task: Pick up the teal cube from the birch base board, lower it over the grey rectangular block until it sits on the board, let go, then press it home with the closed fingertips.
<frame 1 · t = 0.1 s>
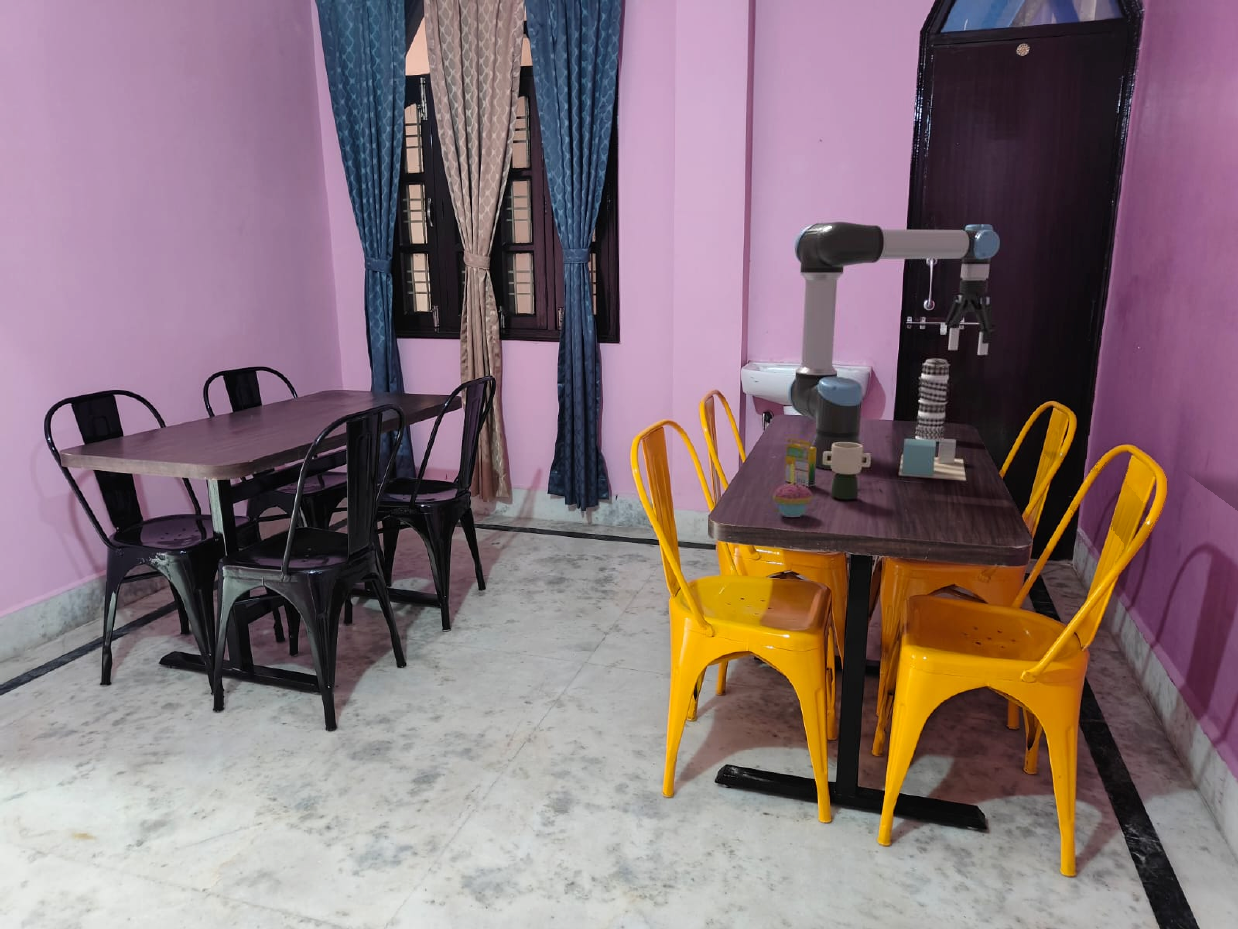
hand: (967, 352, 252), 28 cm above the table, tool pointing down, fingers open, 13 cm apart
grey rectangular block: (945, 462, 229), resting on base board
decorative candle: (929, 439, 266), on the table
crayon box: (799, 484, 214), on the table
character mug: (844, 499, 201), on the table
base board: (931, 472, 225), on the table
cupcake: (792, 516, 188), on the table
teal cube: (917, 471, 219), point 1 cm above the table, touching base board
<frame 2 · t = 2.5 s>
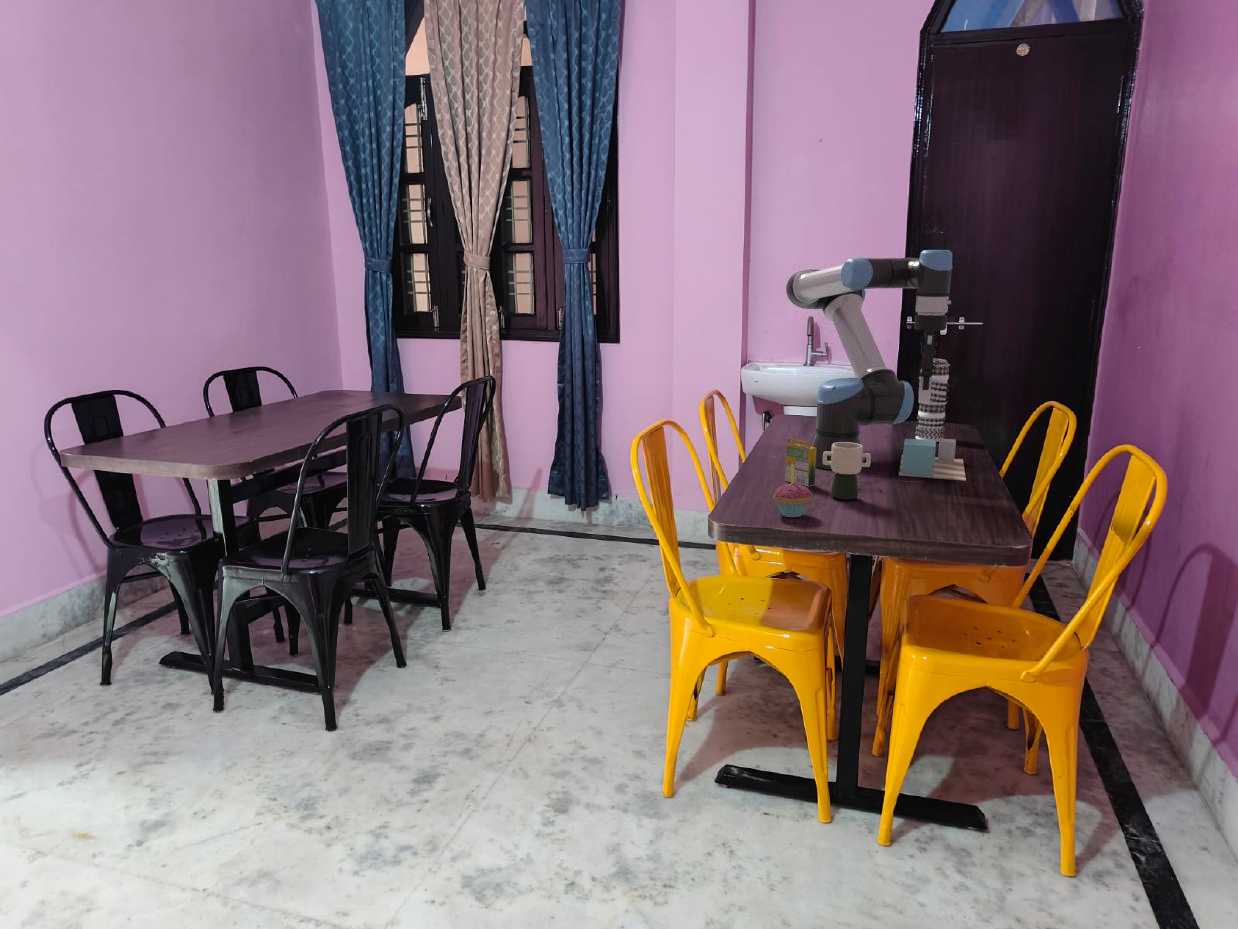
hand: (924, 398, 215), 21 cm above the table, tool pointing down, fingers open, 13 cm apart
nothing on the table moved.
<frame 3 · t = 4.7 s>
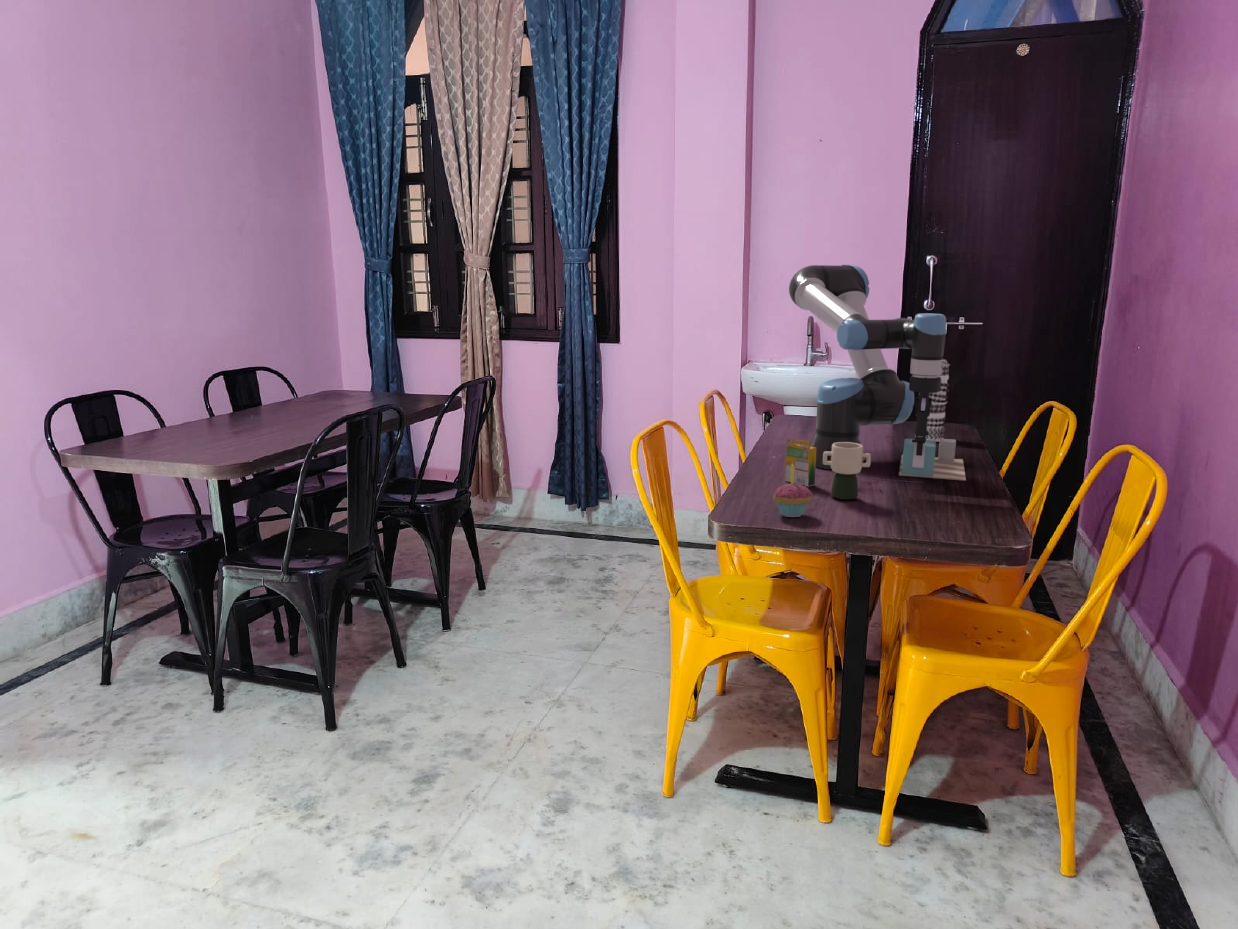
hand: (918, 463, 218), 4 cm above the table, tool pointing down, fingers closed on teal cube, 8 cm apart
teal cube: (917, 471, 219), point 2 cm above the table, touching base board, gripper
everything else where it was.
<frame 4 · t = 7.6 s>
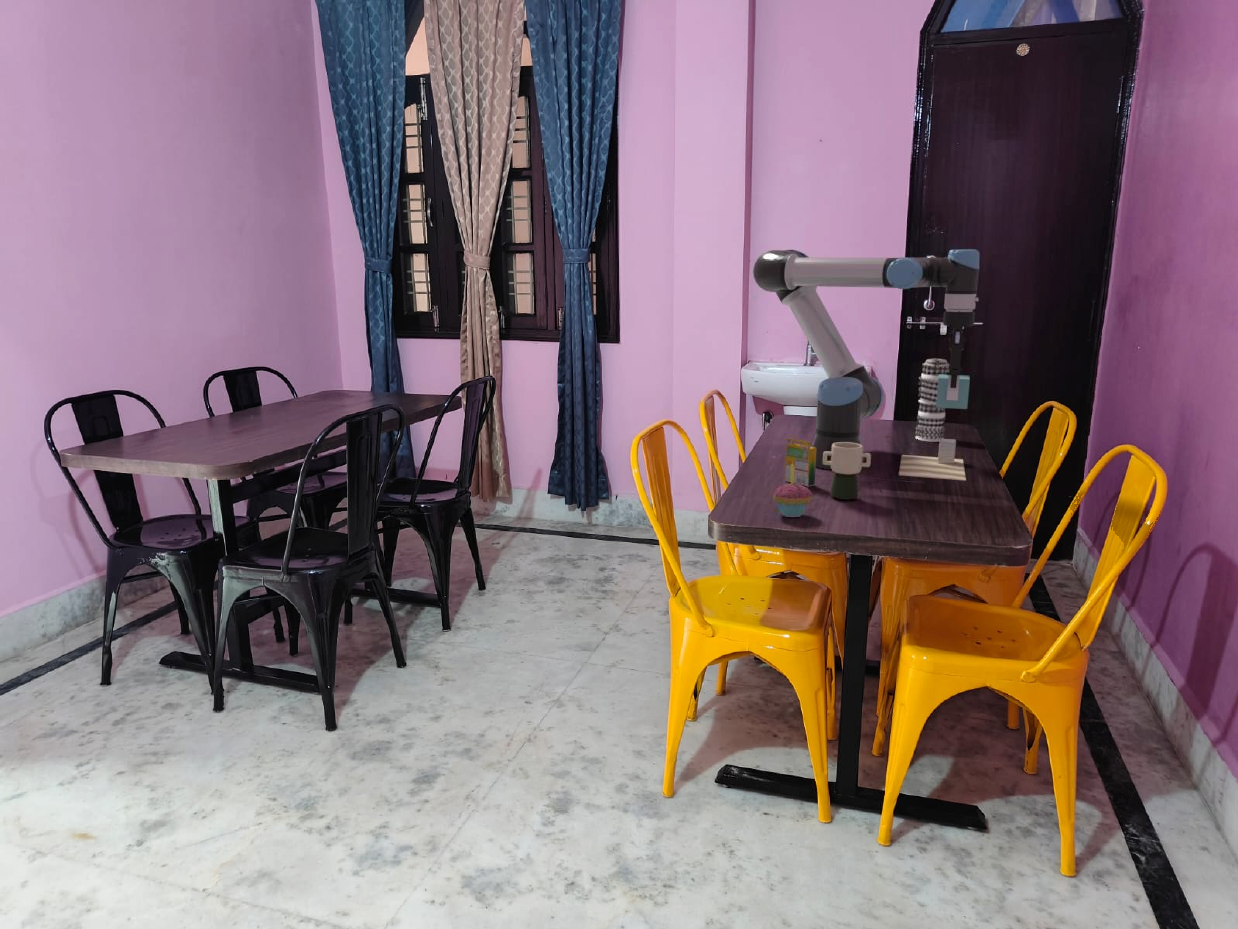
hand: (952, 397, 225), 19 cm above the table, tool pointing down, fingers closed on teal cube, 8 cm apart
teal cube: (951, 405, 225), point 17 cm above the table, touching gripper
everything else where it was.
when the fingers open (5 cm above the table, at t = 10.7 s): teal cube drops 2 cm, resting on base board.
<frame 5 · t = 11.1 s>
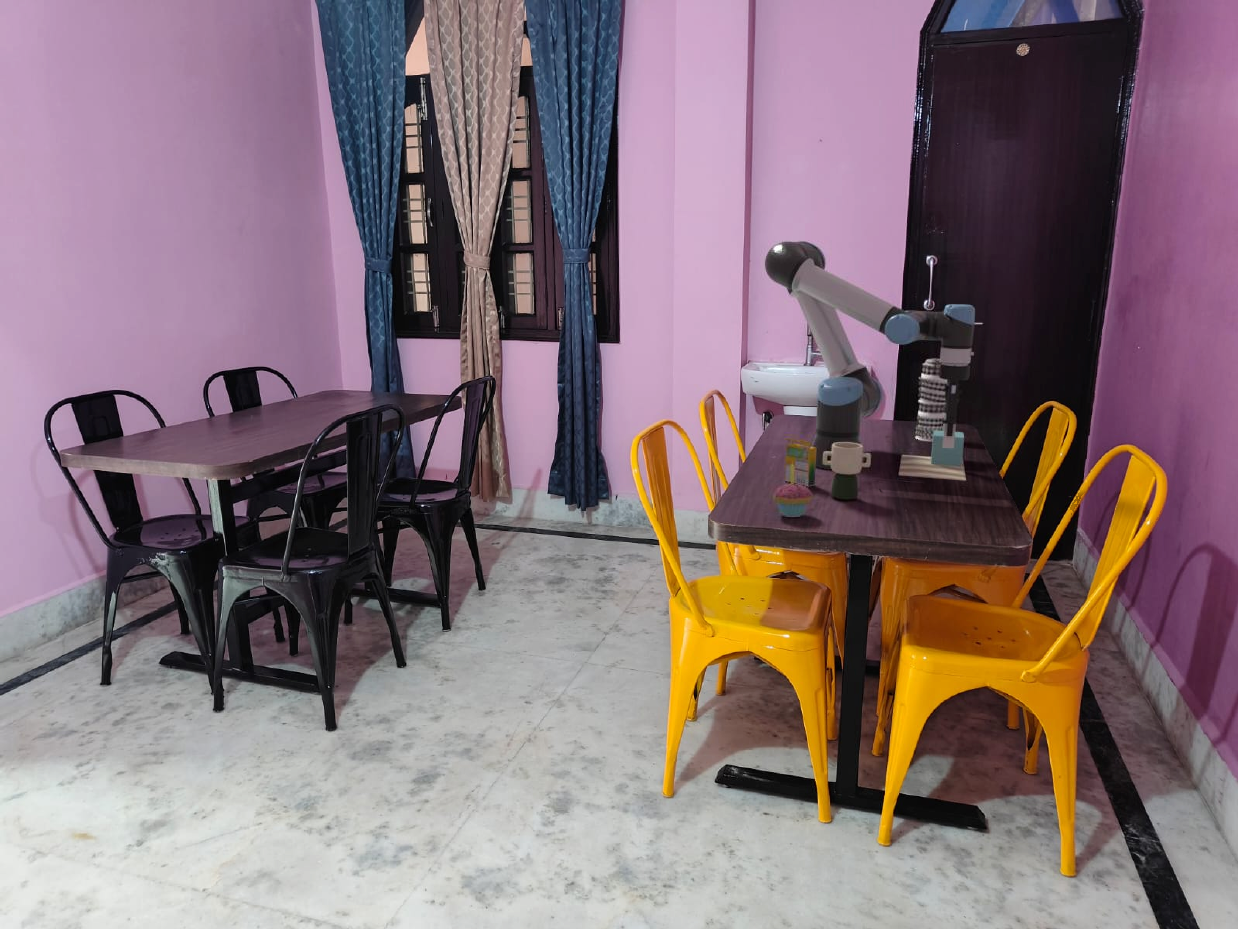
hand: (947, 442, 228), 7 cm above the table, tool pointing down, fingers open, 13 cm apart
teal cube: (945, 462, 229), point 1 cm above the table, touching base board
everything else where it was.
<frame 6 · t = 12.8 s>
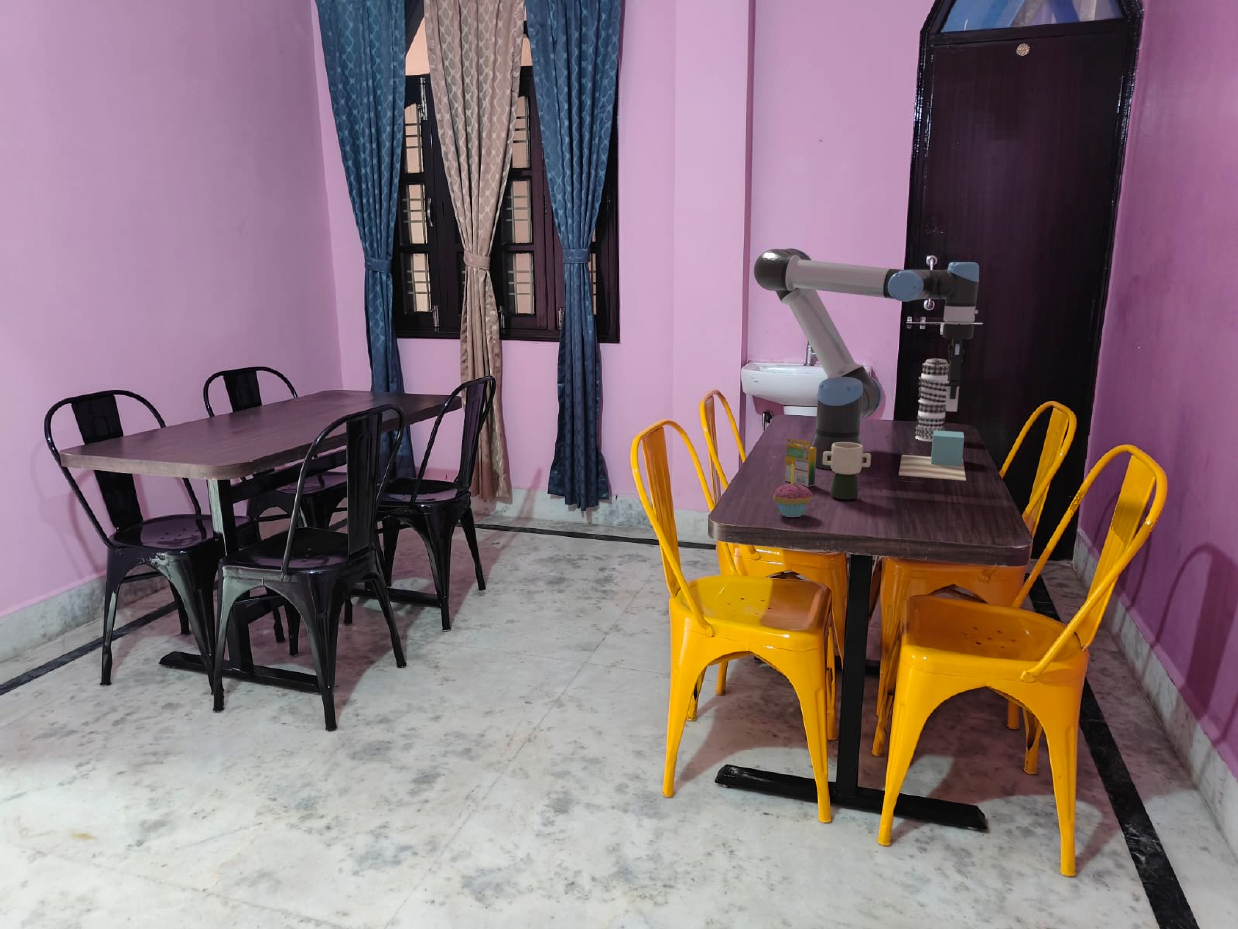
hand: (950, 408, 226), 16 cm above the table, tool pointing down, fingers open, 9 cm apart
nothing on the table moved.
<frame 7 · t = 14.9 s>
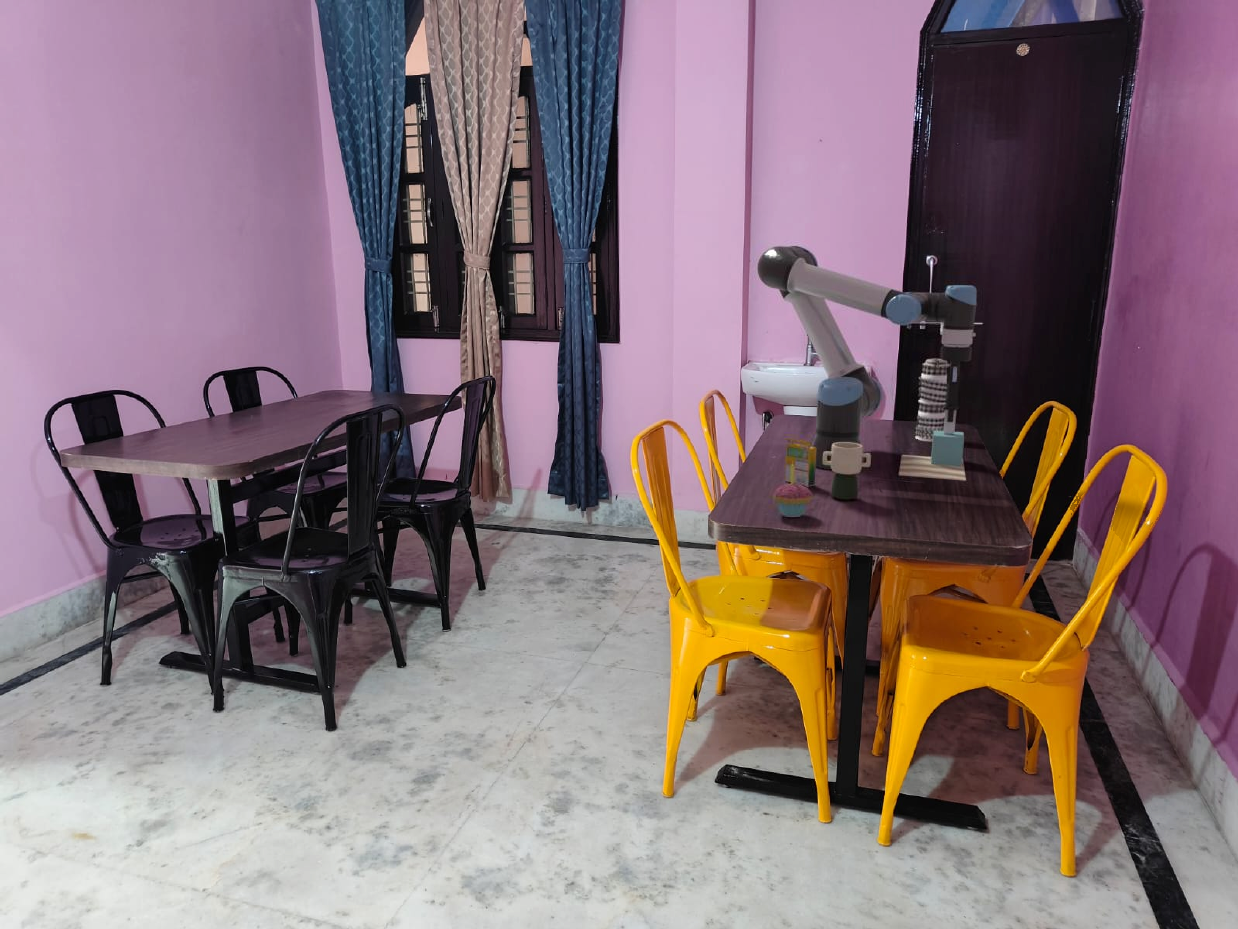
hand: (948, 433, 227), 10 cm above the table, tool pointing down, fingers closed
teal cube: (945, 462, 229), point 1 cm above the table, touching base board, gripper
everything else where it was.
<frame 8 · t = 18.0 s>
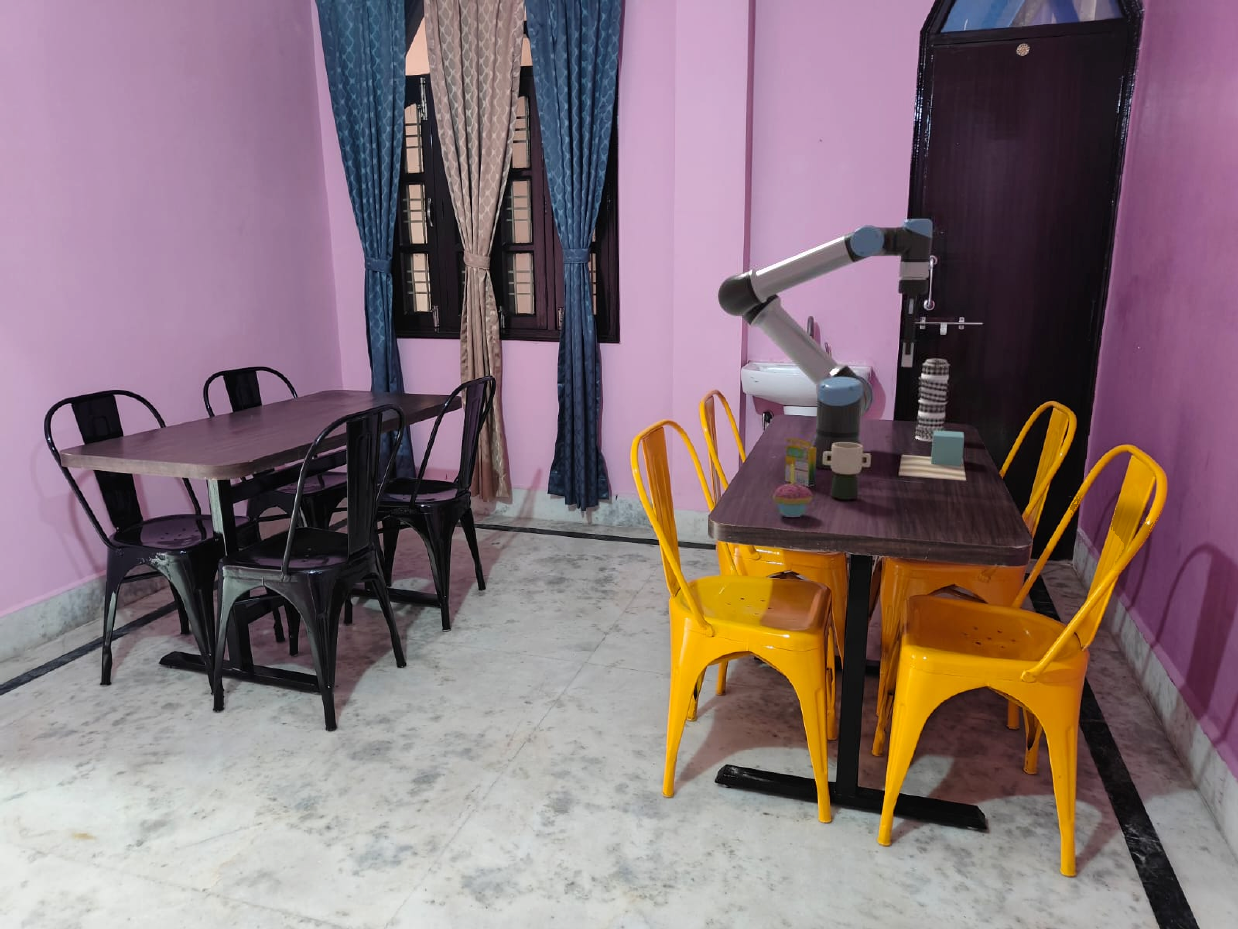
hand: (906, 366, 232), 26 cm above the table, tool pointing down, fingers closed
teal cube: (945, 462, 229), point 1 cm above the table, touching base board
everything else where it was.
at the end: teal cube 0.0 cm from the grey rectangular block (horizontally); teal cube point 1.5 cm above the table; teal cube tilted 0° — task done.
